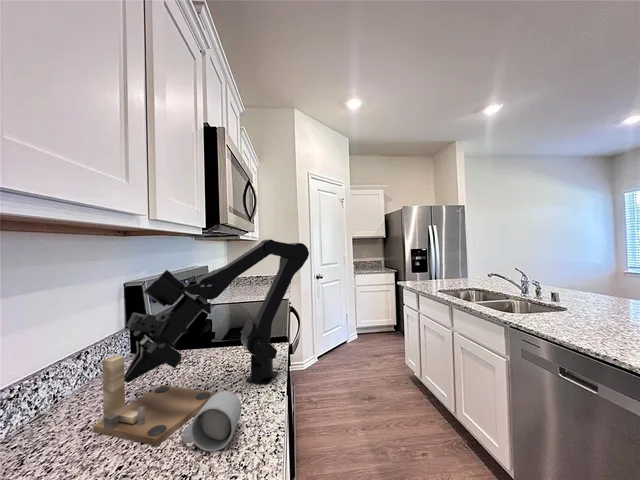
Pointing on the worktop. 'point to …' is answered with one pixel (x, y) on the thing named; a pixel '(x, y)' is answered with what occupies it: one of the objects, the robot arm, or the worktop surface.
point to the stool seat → (156, 414)
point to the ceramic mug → (214, 422)
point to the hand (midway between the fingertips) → (125, 380)
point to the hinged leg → (115, 390)
